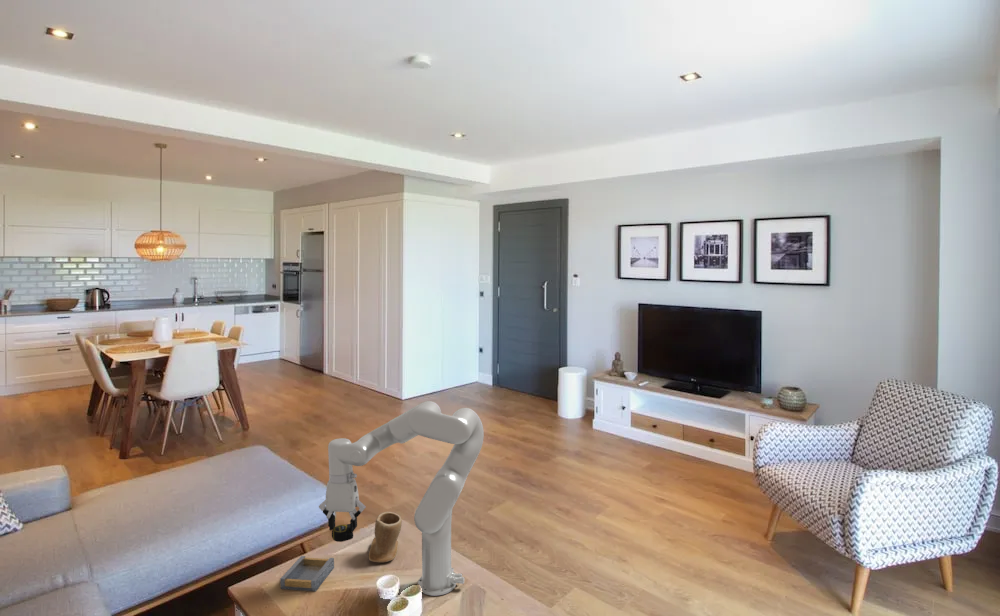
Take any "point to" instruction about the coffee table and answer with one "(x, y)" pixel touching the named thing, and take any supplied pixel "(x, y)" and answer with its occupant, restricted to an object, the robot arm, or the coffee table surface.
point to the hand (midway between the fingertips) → (342, 528)
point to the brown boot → (385, 537)
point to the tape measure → (342, 533)
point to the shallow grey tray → (307, 574)
